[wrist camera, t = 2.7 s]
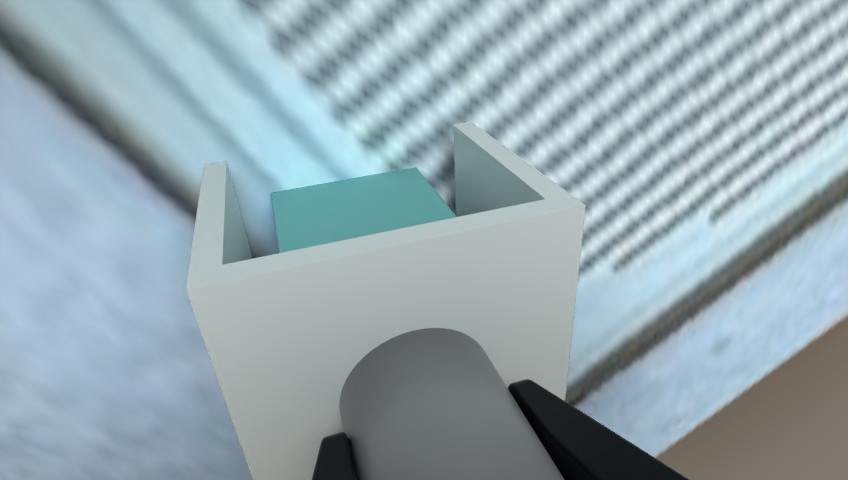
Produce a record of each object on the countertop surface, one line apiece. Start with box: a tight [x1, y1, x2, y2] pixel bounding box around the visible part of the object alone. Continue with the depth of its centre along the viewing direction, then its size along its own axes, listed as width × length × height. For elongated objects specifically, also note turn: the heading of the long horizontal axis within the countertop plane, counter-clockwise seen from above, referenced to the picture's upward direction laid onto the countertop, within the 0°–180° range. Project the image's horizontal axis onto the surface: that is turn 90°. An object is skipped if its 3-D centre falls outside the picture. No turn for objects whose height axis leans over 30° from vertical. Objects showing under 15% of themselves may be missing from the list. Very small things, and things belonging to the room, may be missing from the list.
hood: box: [186, 122, 586, 480], centre depth 10 cm, size 7×7×10 cm
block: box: [271, 167, 456, 253], centre depth 14 cm, size 4×4×4 cm
